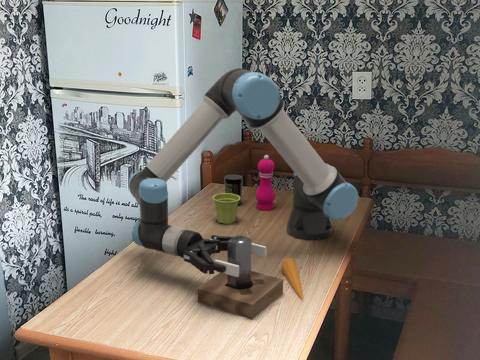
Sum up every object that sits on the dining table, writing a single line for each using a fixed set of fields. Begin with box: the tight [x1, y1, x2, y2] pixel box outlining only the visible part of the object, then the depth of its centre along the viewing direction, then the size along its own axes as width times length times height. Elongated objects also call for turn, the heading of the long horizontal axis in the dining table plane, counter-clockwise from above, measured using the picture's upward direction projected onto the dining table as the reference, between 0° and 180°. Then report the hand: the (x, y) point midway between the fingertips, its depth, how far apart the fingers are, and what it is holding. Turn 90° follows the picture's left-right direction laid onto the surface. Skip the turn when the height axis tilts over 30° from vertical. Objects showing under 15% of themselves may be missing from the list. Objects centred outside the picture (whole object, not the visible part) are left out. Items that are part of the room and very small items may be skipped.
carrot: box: [280, 257, 304, 301], centre depth 160 cm, size 20×4×4 cm, turn 8°
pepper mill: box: [255, 154, 276, 211], centre depth 217 cm, size 7×7×20 cm
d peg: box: [226, 234, 252, 290], centre depth 151 cm, size 5×5×16 cm
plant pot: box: [212, 192, 240, 225], centre depth 205 cm, size 9×9×9 cm
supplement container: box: [223, 173, 244, 206], centre depth 222 cm, size 7×7×10 cm
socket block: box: [196, 270, 284, 321], centre depth 153 cm, size 16×16×4 cm
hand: (252, 261), depth 149 cm, fingers open, 13 cm apart
